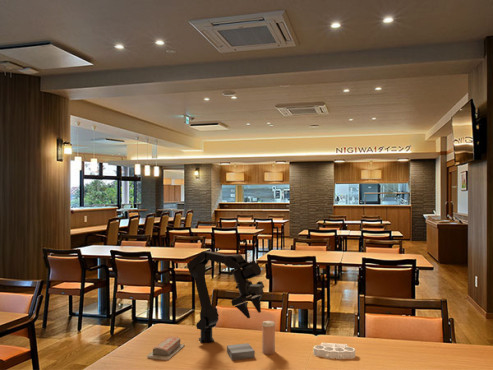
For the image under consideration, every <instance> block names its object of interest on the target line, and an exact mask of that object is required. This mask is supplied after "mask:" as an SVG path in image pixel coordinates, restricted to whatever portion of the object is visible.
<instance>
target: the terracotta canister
mask: <svg viewBox="0 0 493 370" xmlns="http://www.w3.org/2000/svg"><path fill="white" fill-rule="evenodd" d="M261 328H262V330H261V332H262V333H261V334H262V338H261V339H262V341H261V343H262V347H261V348H262V351H261V352H262V354H265V355H273V354H275V353H276V331H275V330H276V323H275V321H272V320H265V321H264V320H263V321H262V322H261Z"/></svg>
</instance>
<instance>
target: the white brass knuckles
mask: <svg viewBox="0 0 493 370" xmlns="http://www.w3.org/2000/svg"><path fill="white" fill-rule="evenodd" d="M312 349H313V350H312V351H313V352H312V353H313V354H312V355H313V356H315V357H323V358H325V359H335V358H336V360H344V359H355V358H356V348H354V347H351V346H348V344H347V343H335V342H333V343H332V342H331V343H330V342H329V343H328V342H321V343H320V344H316V345H314V346H313V348H312Z"/></svg>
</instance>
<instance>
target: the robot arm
mask: <svg viewBox="0 0 493 370" xmlns="http://www.w3.org/2000/svg"><path fill="white" fill-rule="evenodd" d="M209 262H214V263H220V264H224V265H225V267H227V268H230V272H229V274H228V276H233V278H234V281H235V284H236V286H235V290H237V289H238V293H239V295H238V296H237V297H234V298H233V299H231V302H230V303H231V305H232V307H234V308H237V310H239V311H240V312H241V313H242V314H243V315H244V316H245V317H246V318H247V319H250V318H251V314H250V311H249V307H248V304H249V301H250V302H251V303H252V304H253V307H254V308H255V311H256V312H257V313H259V314H260V313H262V309H261V308H262V307H261V299H262V297H264V293H265V292H264V289H265V285H264V283H263V281H261V280H260V281H259V280H258V281H257V282H256V283H253V282H252V280H250V279H253V278H255V277H258V276H260V275H261V274H262V269H261V266H260V265H259V264H258V263H256V260H252V261H248V260H246V259H245V258H244V257H243V255H242V254H237V253H236V254H224V253H221V252H220V253H219V252H215V251H210V250H204V251H201V252H200V253H199V254H198V255H197V256H195V257H194V258H192V259H191V260H189V261H188V263H187V270H188V272H189V274H190V276H192V278H193V279H194V283H195V287H196V291H197V296H198V299H199V302H200V312H199V318H200V319H199V320H198V322H196V325H195V327H196V329H197V330H199V331H200V337H198V339H199V340H198V341H199V342H200V343H201V344H204V343H213V342H215V339H214V338H213V327H216V326H217V324H218V321H219V317H220V315H219V313H218V308H217V307H214V306H213V305H212V302H211V298H210V294H209V290H208V286H207V282H206V278H205V276H206V275H205V274H206V272H207V271H206V270H207V269H206V265H208V263H209ZM248 299H250V300H249V301H247V300H248Z"/></svg>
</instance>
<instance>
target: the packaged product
mask: <svg viewBox="0 0 493 370" xmlns="http://www.w3.org/2000/svg"><path fill="white" fill-rule="evenodd" d="M184 347H185V344H182V343H181V338H180V337H179V336H168V337H166V338H165V339H164V340H162V341H161V342H160V343H158V344H157V345H156V346H154V347H153V348H152V351H151V352H150V353H148V354H147V356H146V357H147V359H152V360H162V361H169V360H170V359H171V358H172V357H173V356H175V355H176V354H177V353H179V352H180V351H181V350H182V348H184Z"/></svg>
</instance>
